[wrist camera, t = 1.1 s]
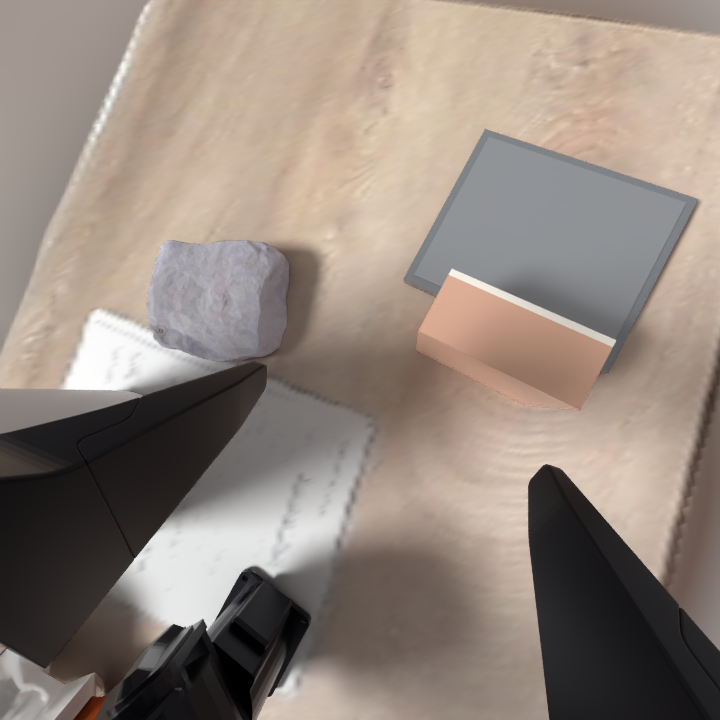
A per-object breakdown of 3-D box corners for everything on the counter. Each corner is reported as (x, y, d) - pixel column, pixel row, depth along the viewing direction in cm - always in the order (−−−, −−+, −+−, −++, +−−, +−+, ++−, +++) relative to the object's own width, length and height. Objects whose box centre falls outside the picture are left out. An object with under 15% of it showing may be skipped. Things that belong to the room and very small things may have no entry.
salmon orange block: (524, 405, 22) (580, 410, 15) (415, 350, 24) (418, 330, 17) (548, 358, 23) (616, 340, 15) (439, 307, 24) (451, 268, 17)
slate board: (601, 373, 22) (609, 372, 21) (404, 282, 25) (403, 278, 24) (688, 206, 22) (699, 198, 21) (482, 137, 25) (485, 128, 24)
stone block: (292, 361, 28) (295, 251, 27) (266, 367, 23) (268, 233, 22) (183, 353, 30) (182, 251, 29) (139, 357, 26) (136, 236, 25)
